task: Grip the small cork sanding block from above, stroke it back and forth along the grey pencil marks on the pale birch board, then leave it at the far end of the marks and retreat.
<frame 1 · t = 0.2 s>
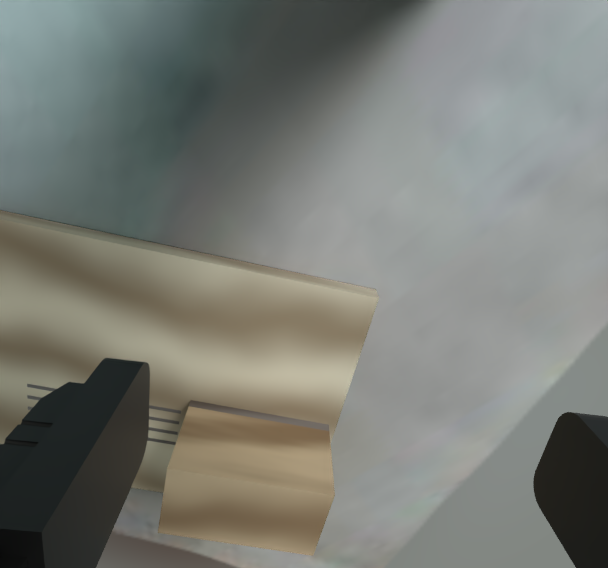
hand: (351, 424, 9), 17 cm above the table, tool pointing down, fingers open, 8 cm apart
sanding block: (253, 441, 30), point 1 cm above the table, touching board
board: (165, 376, 29), on the table
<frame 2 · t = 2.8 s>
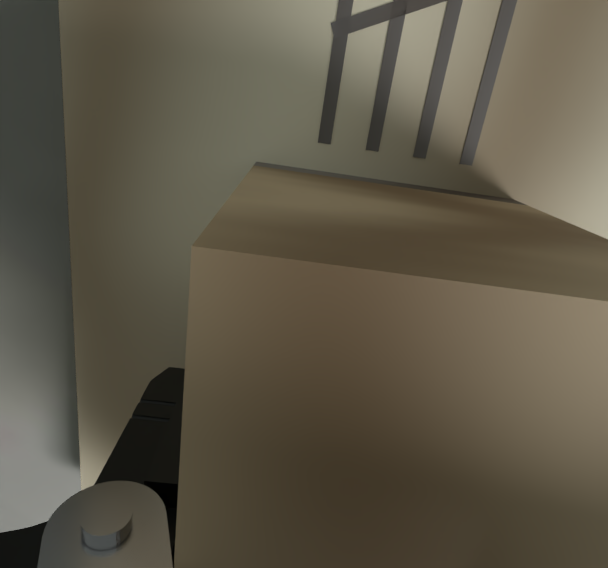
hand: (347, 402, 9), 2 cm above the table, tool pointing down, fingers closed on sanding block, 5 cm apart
sanding block: (345, 380, 10), point 1 cm above the table, touching board, gripper
board: (541, 94, 9), on the table
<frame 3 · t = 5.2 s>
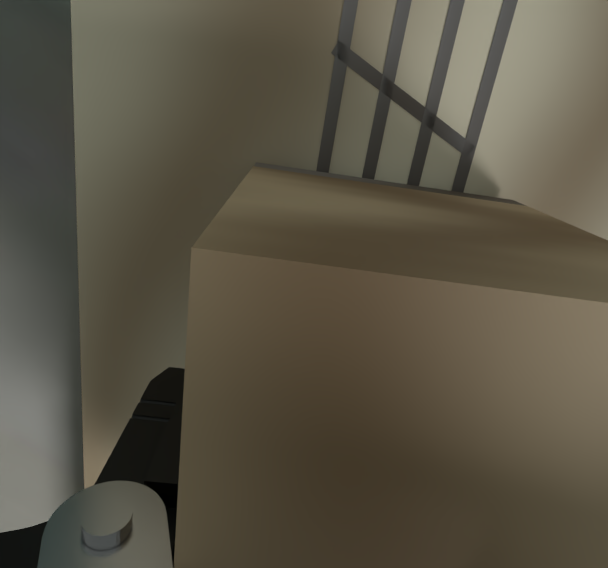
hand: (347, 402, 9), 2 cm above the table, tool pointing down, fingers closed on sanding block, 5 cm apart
sanding block: (345, 380, 10), point 1 cm above the table, touching gripper
board: (457, 349, 12), on the table
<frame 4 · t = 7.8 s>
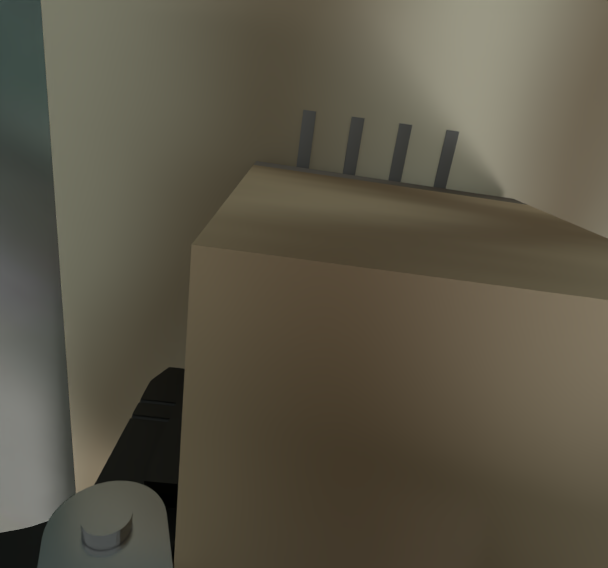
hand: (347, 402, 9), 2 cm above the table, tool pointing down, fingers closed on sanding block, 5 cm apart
sanding block: (345, 379, 10), point 1 cm above the table, touching gripper
board: (422, 436, 12), on the table
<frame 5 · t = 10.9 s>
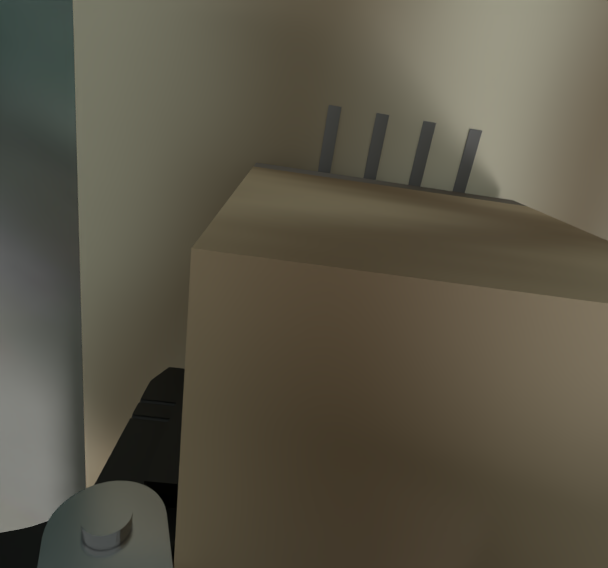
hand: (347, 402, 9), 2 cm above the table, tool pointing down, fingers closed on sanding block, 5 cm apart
sanding block: (345, 380, 10), point 1 cm above the table, touching gripper
board: (431, 435, 13), on the table
when the fingers open (2 cm above the table, at t = 13.1 s): sanding block stays where it is, resting on board.
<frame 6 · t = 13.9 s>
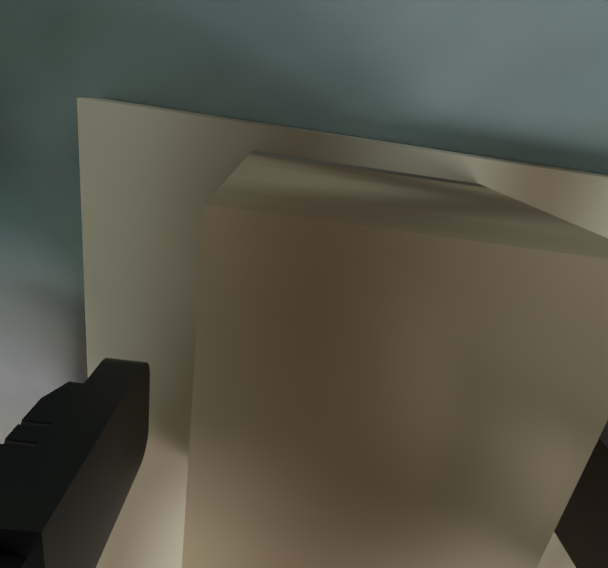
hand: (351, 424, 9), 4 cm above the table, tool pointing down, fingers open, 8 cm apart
sanding block: (333, 348, 11), point 1 cm above the table, touching board
board: (383, 507, 15), on the table
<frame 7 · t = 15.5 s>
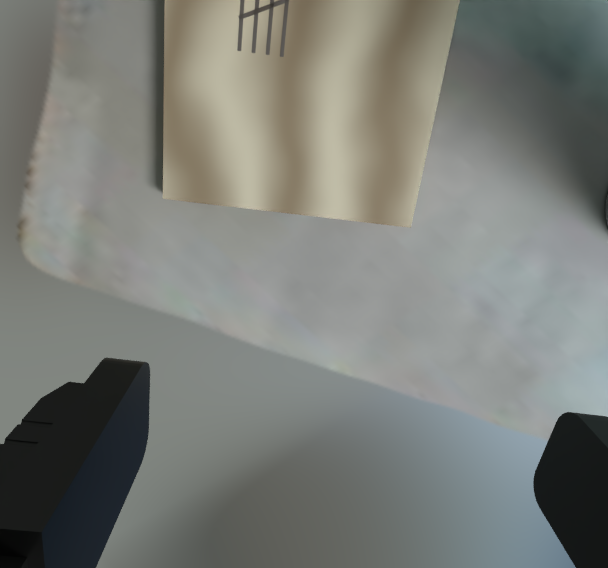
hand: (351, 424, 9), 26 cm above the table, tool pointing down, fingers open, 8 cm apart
board: (308, 36, 29), on the table
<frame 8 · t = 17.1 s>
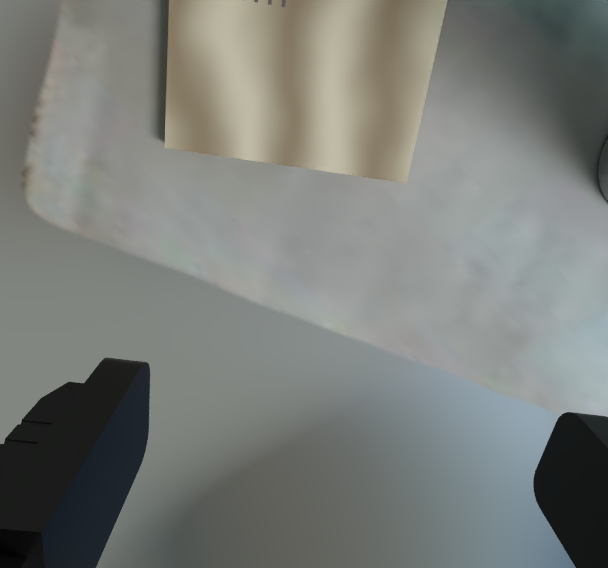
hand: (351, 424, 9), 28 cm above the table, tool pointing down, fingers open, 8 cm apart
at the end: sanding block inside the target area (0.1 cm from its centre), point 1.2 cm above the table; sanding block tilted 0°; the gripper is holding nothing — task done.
